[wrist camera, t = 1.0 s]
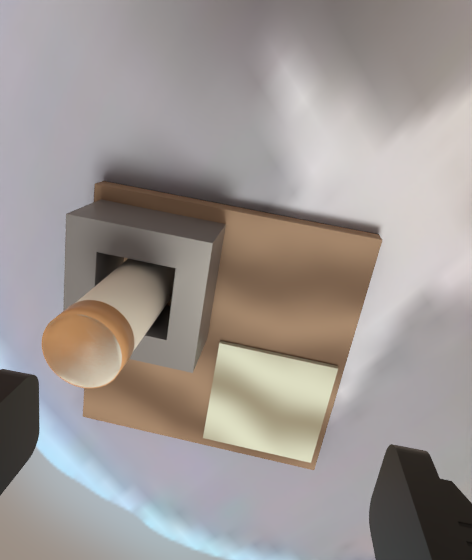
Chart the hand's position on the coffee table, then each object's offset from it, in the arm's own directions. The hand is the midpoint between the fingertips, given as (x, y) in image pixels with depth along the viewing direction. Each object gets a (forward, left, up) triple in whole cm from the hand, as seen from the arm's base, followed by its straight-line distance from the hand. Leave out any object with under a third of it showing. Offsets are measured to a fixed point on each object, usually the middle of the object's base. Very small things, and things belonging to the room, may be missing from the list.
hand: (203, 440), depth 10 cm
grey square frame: (+5, -7, -22) cm, 24 cm away
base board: (+10, -2, -23) cm, 25 cm away
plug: (+5, -7, -22) cm, 24 cm away
